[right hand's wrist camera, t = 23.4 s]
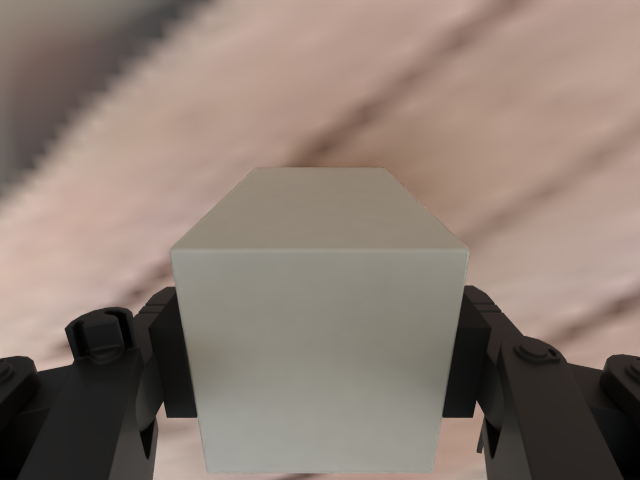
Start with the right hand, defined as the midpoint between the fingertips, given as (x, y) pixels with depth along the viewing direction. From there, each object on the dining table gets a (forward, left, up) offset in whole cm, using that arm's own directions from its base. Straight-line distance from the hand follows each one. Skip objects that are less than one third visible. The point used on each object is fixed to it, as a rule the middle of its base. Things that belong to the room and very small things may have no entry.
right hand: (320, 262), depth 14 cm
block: (0, 0, -4) cm, 4 cm away
